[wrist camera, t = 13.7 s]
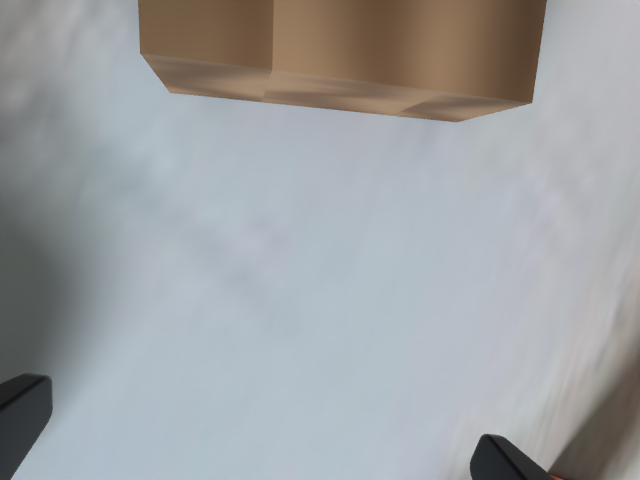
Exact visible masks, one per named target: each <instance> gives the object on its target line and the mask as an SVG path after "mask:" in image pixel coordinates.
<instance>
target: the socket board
mask: <svg viewBox="0 0 640 480" xmlns="http://www.w3.org/2000/svg"><path fill="white" fill-rule="evenodd" d="M546 2H547V0H138V6H139V31H140V53H141V55H142V56H143V57H144V59H145V60H146V61H147V63H148V64H149V65H150V67H151V68H152V69H153V71H154V72H155V73H156V75H157V76H158V77H159V79H160V80H161V81H162V83H163V84H164V85H165V87H166V88H167V89H168V91H169V92H170V93H179V94H189V95H199V96H209V97H218V98H228V99H238V100H247V101H257V102H267V103H276V104H286V105H296V106H305V107H315V108H325V109H335V110H344V111H354V112H364V113H373V114H383V115H393V116H402V117H412V118H422V119H431V120H441V121H451V122H460V121H464V120H468V119H471V118H475V117H479V116H483V115H487V114H491V113H495V112H499V111H503V110H507V109H510V108H514V107H518V106H522V105H526V104H530V103H532V100H533V93H534V86H535V79H536V72H537V65H538V58H539V51H540V44H541V37H542V30H543V23H544V16H545V9H546Z"/></svg>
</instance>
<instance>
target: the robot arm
mask: <svg viewBox="0 0 640 480" xmlns="http://www.w3.org/2000/svg"><path fill="white" fill-rule="evenodd" d="M52 409H53V404H52V380H51V378H50V377H49V376H47V375H40V374H33V373H26V374H22V375H20V376H17V377H15V378H13V379H10V380H8V381H6V382H3V383H1V384H0V480H11V478H12V476H13V475H14V473H15V472H16V470H17V469H18V467H19V466H20V464H21V463H22V461H23V460H24V458H25V457H26V455H27V454H28V452H29V451H30V449H31V448H32V446H33V444H34V443H35V441H36V440H37V438H38V437H39V435H40V434H41V432H42V431H43V429H44V428H45V426H46V425H47V423H48V421H49V419H50V417H51V414H52ZM470 473H471V477H472V480H556V479H554V478H553V477H552V476H551V475H550V474H548V473H547V472H546V471H545V470H544V469H542V468H541V467H540V466H539V465H537V464H536V463H535V462H534V461H533V460H531V459H530V458H529V457H528V456H527V455H525V454H524V453H523V452H522V451H520V450H519V449H518V448H517V447H516V446H514V445H513V444H512V443H511V442H509V441H508V440H507V439H506V438H504V437H503V436H500V435H493V434H484V435H482V436H481V438H480V440H479V442H478V444H477V447H476V449H475V451H474V454H473V456H472V458H471V461H470Z"/></svg>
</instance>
